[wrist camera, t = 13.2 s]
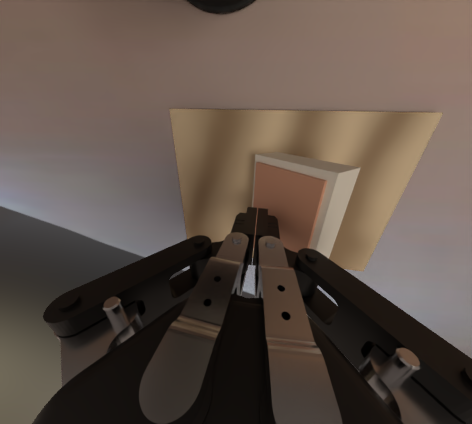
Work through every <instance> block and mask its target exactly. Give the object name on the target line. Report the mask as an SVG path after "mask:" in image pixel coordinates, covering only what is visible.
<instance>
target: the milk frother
mask: <svg viewBox="0 0 472 424" xmlns="http://www.w3.org/2000/svg"><path fill="white" fill-rule="evenodd" d="M187 1H189V2H190V3H191V4H193V5H195V6H196V7H198V8H200V9H203V10H205V11H208V12H213V13H227V12H233V11H235V10H239V9H241V8H243V7H245V6H247V5H249V4H250V3H252V2H253V1H254V0H187Z"/></svg>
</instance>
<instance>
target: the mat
mask: <svg viewBox="0 0 472 424" xmlns="http://www.w3.org/2000/svg"><path fill="white" fill-rule="evenodd" d="M442 114H443V113H427V112H359V111H291V110H223V109H170V116H171V124H172V131H173V138H174V146H175V153H176V160H177V168H178V175H179V182H180V190H181V197H182V204H183V212H184V219H185V226H186V234H187V239H189V238H191V237H194V236H198V235H204V236H207V237H209V238H210V239H211V242H220V241H223V240H224V239H225V237H226V236H227V235H228V234H230V233H231V230H232V227H233V224H234V221H235V218H236V215H238V214H239V213H246V212H247V208H248V207H252V198H253V183H254V168H255V154H263V153H272V152H280V153H285V154H291V155H296V156H301V157H307V158H312V159H317V160H323V161H328V162H333V163H339V164H344V165H349V166H355V167H360V171H359V174H358V177H357V179H356V182H355V185H354V188H353V191H352V194H351V197H350V199H349V202H348V205H347V208H346V211H345V214H344V217H343V220H342V222H341V225H340V228H339V231H338V234H337V237H336V240H335V242H334V245H333V248H332V251H331V254H330V257H329V259H330V260H331V261H333V262H334V263H336V264H337V265H338V266H340V267H341V268H343V269H349V270H357V271H364V269H365V267H366V265H367V263H368V261H369V259H370V257H371V255H372V253H373V251H374V249H375V247H376V245H377V243H378V241H379V239H380V237H381V235H382V233H383V231H384V229H385V227H386V225H387V223H388V221H389V219H390V217H391V215H392V213H393V211H394V209H395V207H396V205H397V203H398V201H399V199H400V197H401V195H402V193H403V191H404V189H405V187H406V185H407V183H408V181H409V179H410V178H411V176H412V174H413V172H414V170H415V168H416V166H417V164H418V162H419V160H420V158H421V156H422V154H423V152H424V150H425V148H426V146H427V144H428V142H429V140H430V138H431V136H432V134H433V132H434V130H435V128H436V126H437V124H438V122H439V120H440V118H441V116H442ZM253 255H254V250H253ZM253 255H252V258H253Z"/></svg>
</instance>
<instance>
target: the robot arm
mask: <svg viewBox="0 0 472 424" xmlns="http://www.w3.org/2000/svg"><path fill="white" fill-rule="evenodd" d="M256 216H257V224H256ZM255 227H256V234H255ZM254 237H255V244H254ZM253 246H254V255H253ZM252 255H253V265H256V267H255V298H244V297H242V296H241V294H242V290H243V286H244V282H245V277H246V271H247V269H248V265H251V264H252ZM189 265H190V269H188V270H186V271H185V272H183V273H181V274H179V275H177V276H176V277H174V278H172V279H170V277H171V276H172V275H173V274H174V273H176V272H178V271H180V270H182V269H184V268H185V267H187V266H189ZM169 279H170V280H169ZM318 285H319V286H320V287H321V288H322V289H323V290H324V291H326V292H327V293H328V294H329V295H330V296H331V297H332V298H333V299H334V300H335V301H336V303H337V305H338V306H337V305H336V304H335V303H333V302H332V301H331V300H330V299H329V298H328V297H327V296H326V295H325V294H323V293H322V292H321V291H320V290H319V289H318V288H317V286H318ZM307 315H308V316H309V317H310V318H311V319H310V318H309V317H308V316H307ZM43 318H44V320H45V321H46V323H47V324H48V325H49V326H50V327H51V329H52V330H53V331H54V335H55V336H56V337H57V338H58V339H59V341H60V342H61V370H62V371H61V372H62V388H61V389H60V390H59V391H58V392H57V393H56V394H55V395H54V396H53V397H52V398H51V400H50V401H49V402H48V403H47V404H46V405H45V406H44V408H43V409H42V410H41V412H40V413H39V414H38V416H37V417H36V419H35V420H34V422H33V423H32V424H472V359H471V358H470V357H468V356H467V355H465V354H464V353H463V352H461V351H460V350H458V349H457V348H455V347H454V346H453V345H451V344H450V343H448V342H447V341H445V340H444V339H443V338H441V337H440V336H438V335H437V334H436V333H434V332H433V331H431V330H430V329H428V328H427V327H426V326H424V325H423V324H421V323H420V322H418V321H417V320H416V319H414V318H413V317H411V316H410V315H408V314H407V313H406V312H404V311H403V310H401V309H400V308H398V307H397V306H396V305H394V304H393V303H391V302H390V301H388V300H387V299H386V298H384V297H383V296H381V295H380V294H378V293H377V292H376V291H374V290H373V289H371V288H370V287H368V286H367V285H366V284H364V283H363V282H361V281H360V280H358V279H357V278H356V277H354V276H353V275H351V274H350V273H348V272H347V271H346V270H344V269H343V268H341V267H340V266H338V265H337V264H336V263H334V262H333V261H331V260H330V259H329V258H327V257H326V256H324V255H323V254H321V253H320V252H318V251H316V250H314V249H310V248H303V249H300V250H299V251H298V253H297V252H294V251H291V250H289V249H287V248H285V247H284V246H283V243H282V241H281V240H280V234H279V225H278V219H277V218H276V217H275V216H271V215H268V209H265V208H258V215H257V208H254V207H248V208H247V212H246V213H239V214H238V215H236V218H235V221H234V224H233V227H232V230H231V233H230V234H228V235H227V236H226V237H225V239H224V240H223V241H220V242H211V239H210V238H209V237H207V236H204V235H198V236H194V237H191V238H189V239H187V240H184V241H182V242H180V243H178V244H175V245H173V246H171V247H168V248H166V249H164V250H162V251H159V252H157V253H155V254H153V255H150V256H148V257H146V258H143V259H141V260H140V261H137V262H135V263H132V264H130V265H127V266H126V267H123V268H121V269H118V270H116V271H114V272H112V273H109V274H107V275H105V276H102V277H100V278H98V279H96V280H93V281H91V282H89V283H87V284H84V285H82V286H80V287H77V288H75V289H73V290H71V291H68V292H66V293H64V294H63V295H61V296H59V297H58V298H56V299H55V300H54V301H53V302H52V303H51V304H50V305H49V306H48V307H47V308H46V310H45V312H44V315H43ZM336 346H337V347H338V348H339V349H338V348H337V347H336ZM343 354H344V355H345V356H346V357H347V358H348V359H349V360H350V361H349V360H348V359H347V358H346V357H345V356H344V355H343ZM350 362H352V364H353V365H354V366H355V367H356V368H357V369H358V370H359V372H358V371H357V369H356V368H355V367H354V366H353V365H352V364H351V363H350Z"/></svg>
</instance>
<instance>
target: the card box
mask: <svg viewBox="0 0 472 424" xmlns="http://www.w3.org/2000/svg"><path fill="white" fill-rule="evenodd" d="M359 171H360V167H355V166H349V165H344V164H339V163H333V162H328V161H323V160H317V159H312V158H307V157H301V156H296V155H291V154H285V153H280V152H272V153H263V154H255V168H254V183H253V198H252V207H254V208H257V215H258V208H265V209H268V215H271V216H275V217H276V218H277V219H278V225H279V234H280V240H281V241H282V243H283V246H284V247H285V248H287V249H289V250H291V251H294V252H297V253H298V251H299V250H300V249H303V248H310V249H314V250H316V251H318V252H320V253H321V254H323V255H324V256H326V257H327V258H329V257H330V254H331V251H332V248H333V245H334V242H335V240H336V237H337V234H338V231H339V228H340V225H341V222H342V220H343V217H344V214H345V211H346V208H347V205H348V202H349V199H350V197H351V194H352V191H353V188H354V185H355V182H356V179H357V177H358V174H359ZM256 224H257V216H256ZM255 234H256V227H255ZM254 244H255V237H254ZM253 250H254V246H253Z"/></svg>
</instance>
